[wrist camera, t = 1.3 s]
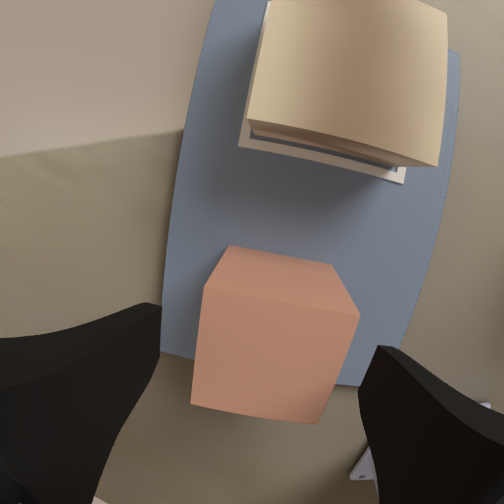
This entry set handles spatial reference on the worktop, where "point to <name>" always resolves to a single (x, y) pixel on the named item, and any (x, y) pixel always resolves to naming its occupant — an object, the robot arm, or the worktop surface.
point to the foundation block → (354, 78)
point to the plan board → (294, 200)
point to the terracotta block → (271, 336)
